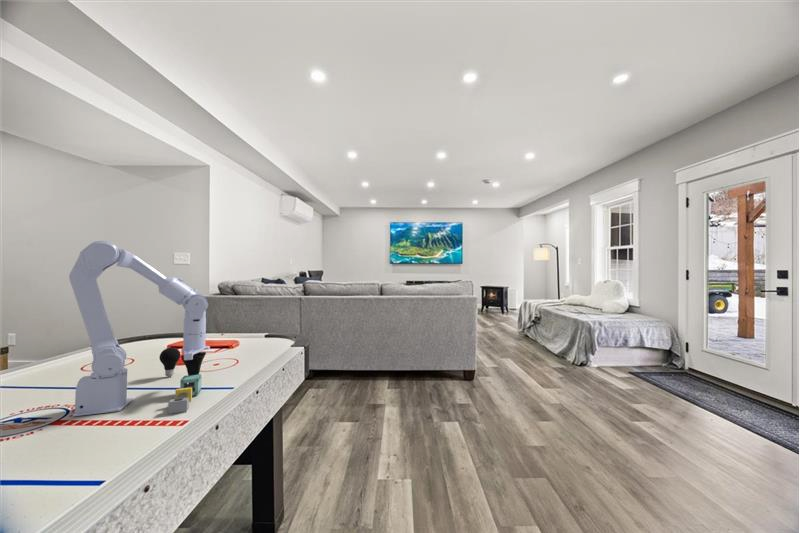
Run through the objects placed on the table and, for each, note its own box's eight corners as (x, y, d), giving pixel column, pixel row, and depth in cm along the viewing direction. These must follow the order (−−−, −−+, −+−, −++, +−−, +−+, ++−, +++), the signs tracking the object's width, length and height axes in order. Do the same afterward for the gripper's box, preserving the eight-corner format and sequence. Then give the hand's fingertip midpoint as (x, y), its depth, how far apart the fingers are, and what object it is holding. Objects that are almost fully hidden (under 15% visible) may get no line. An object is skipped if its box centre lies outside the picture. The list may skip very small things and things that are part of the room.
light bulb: (184, 374, 110) (184, 346, 111) (170, 380, 105) (171, 350, 105) (168, 373, 111) (169, 345, 111) (154, 379, 105) (155, 349, 105)
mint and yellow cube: (180, 396, 89) (180, 380, 90) (184, 391, 93) (184, 375, 93) (197, 394, 91) (198, 378, 91) (201, 390, 95) (201, 374, 95)
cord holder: (186, 411, 81) (187, 395, 81) (168, 414, 79) (168, 397, 79) (204, 385, 100) (204, 371, 100) (189, 386, 99) (190, 372, 99)
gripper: (204, 336, 90) (203, 384, 90) (214, 328, 104) (213, 369, 103) (175, 338, 87) (174, 387, 87) (189, 329, 101) (188, 371, 101)
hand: (193, 377), depth 95 cm, fingers closed
